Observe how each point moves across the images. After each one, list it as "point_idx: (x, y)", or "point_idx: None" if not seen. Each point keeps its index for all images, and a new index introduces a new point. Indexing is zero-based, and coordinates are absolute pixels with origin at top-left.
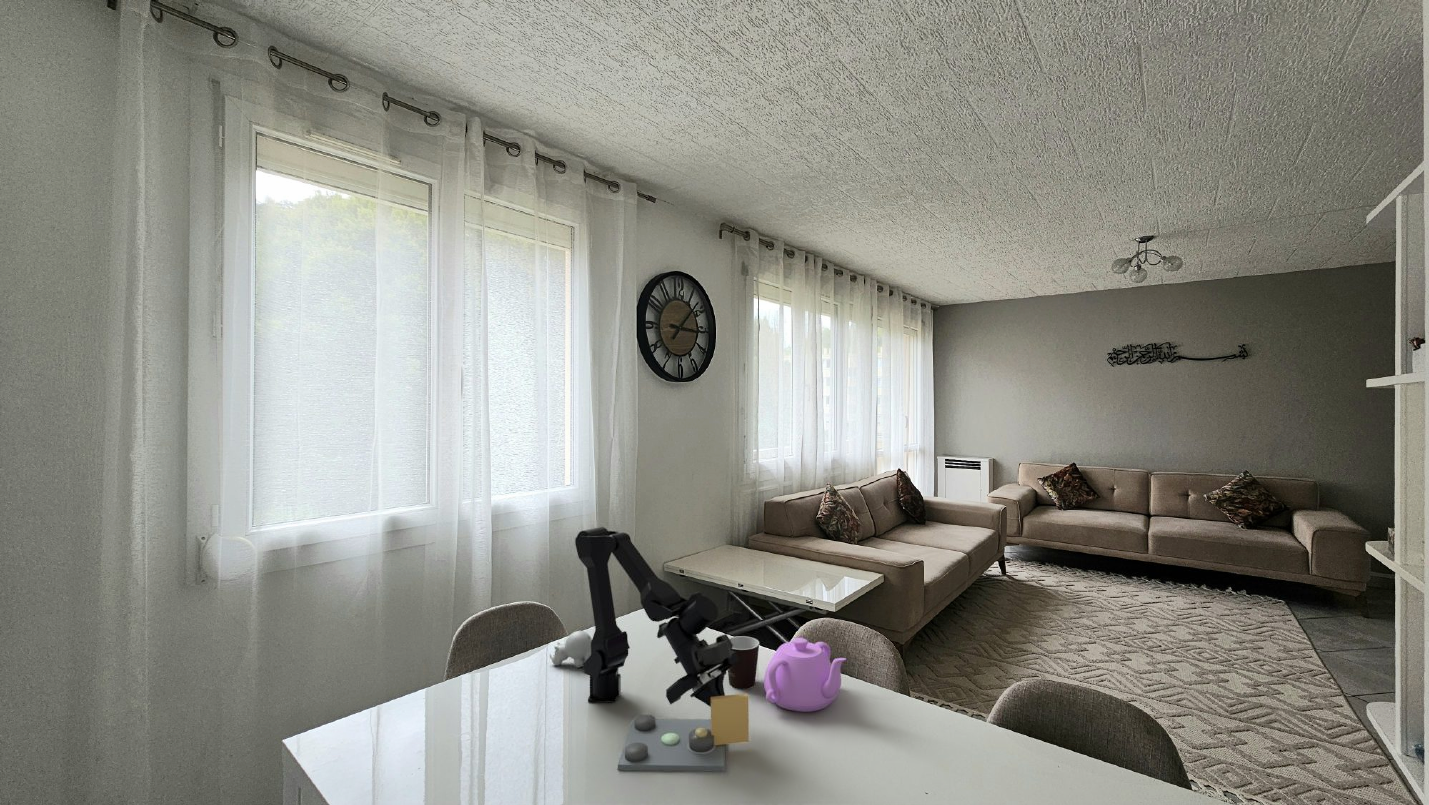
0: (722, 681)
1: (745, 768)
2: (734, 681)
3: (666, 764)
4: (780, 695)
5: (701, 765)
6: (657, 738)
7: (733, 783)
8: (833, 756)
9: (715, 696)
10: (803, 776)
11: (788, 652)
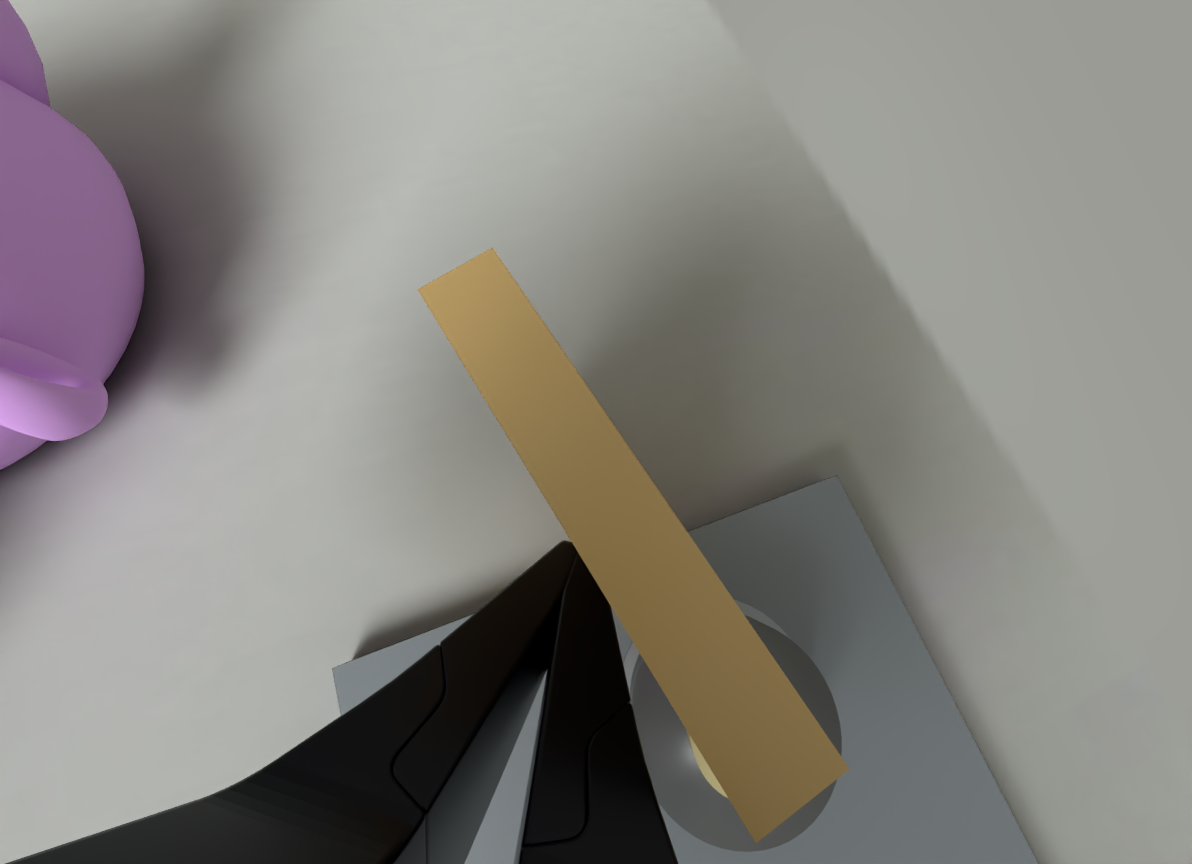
0: (209, 818)
1: (742, 390)
2: None
3: (1025, 857)
4: (35, 336)
5: (902, 605)
6: None
7: (885, 401)
8: (497, 94)
9: (698, 744)
10: (685, 157)
11: None
